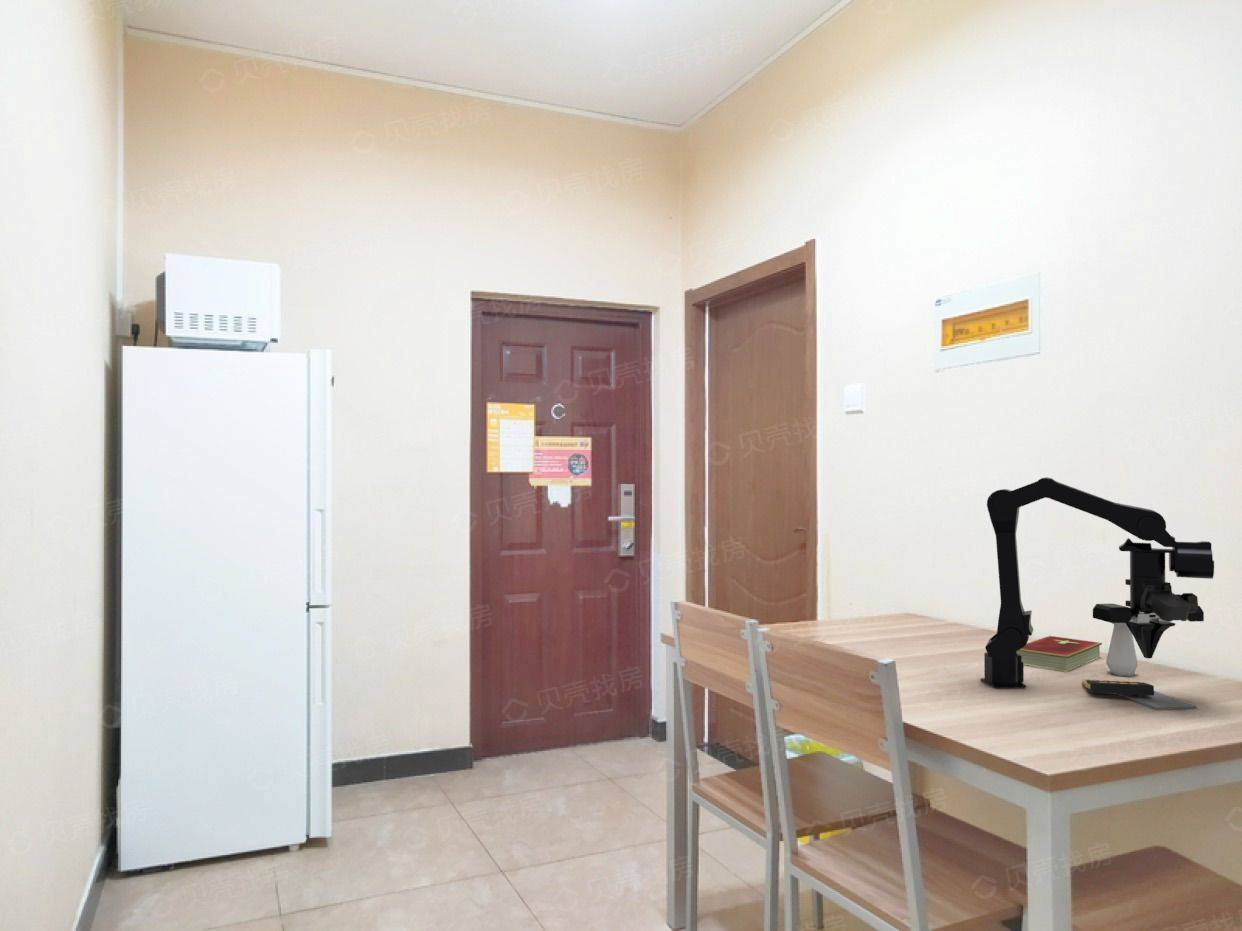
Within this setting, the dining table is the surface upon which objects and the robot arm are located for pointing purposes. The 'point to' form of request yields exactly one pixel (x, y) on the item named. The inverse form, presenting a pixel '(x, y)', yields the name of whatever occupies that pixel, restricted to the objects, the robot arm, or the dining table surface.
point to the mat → (1159, 701)
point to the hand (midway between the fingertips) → (1147, 658)
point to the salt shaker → (1122, 651)
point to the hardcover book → (1059, 653)
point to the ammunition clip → (1118, 687)
